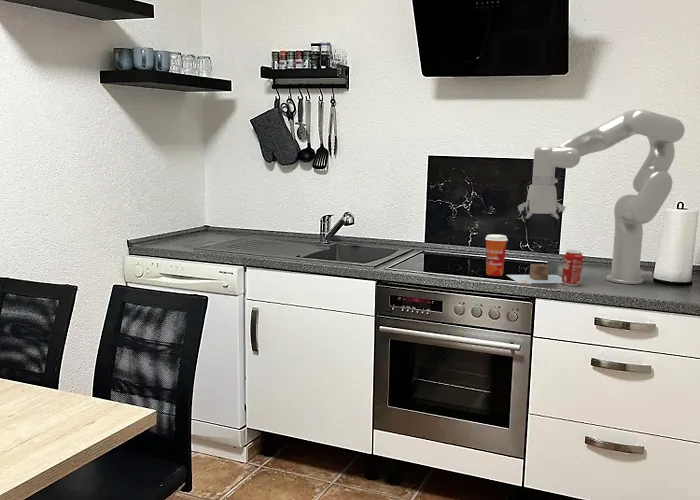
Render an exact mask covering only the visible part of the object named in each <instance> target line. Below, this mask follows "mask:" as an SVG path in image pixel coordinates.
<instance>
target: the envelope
mask: <svg viewBox="0 0 700 500" xmlns="http://www.w3.org/2000/svg"><path fill="white" fill-rule="evenodd" d="M505 276H507V277H508V278H509V279H511V280H514V281H515V282H517V283H518V284H564V283H563V282H562V276H560V275H557V274H548V280H533V279H531V278H530V274H505Z"/></svg>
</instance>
